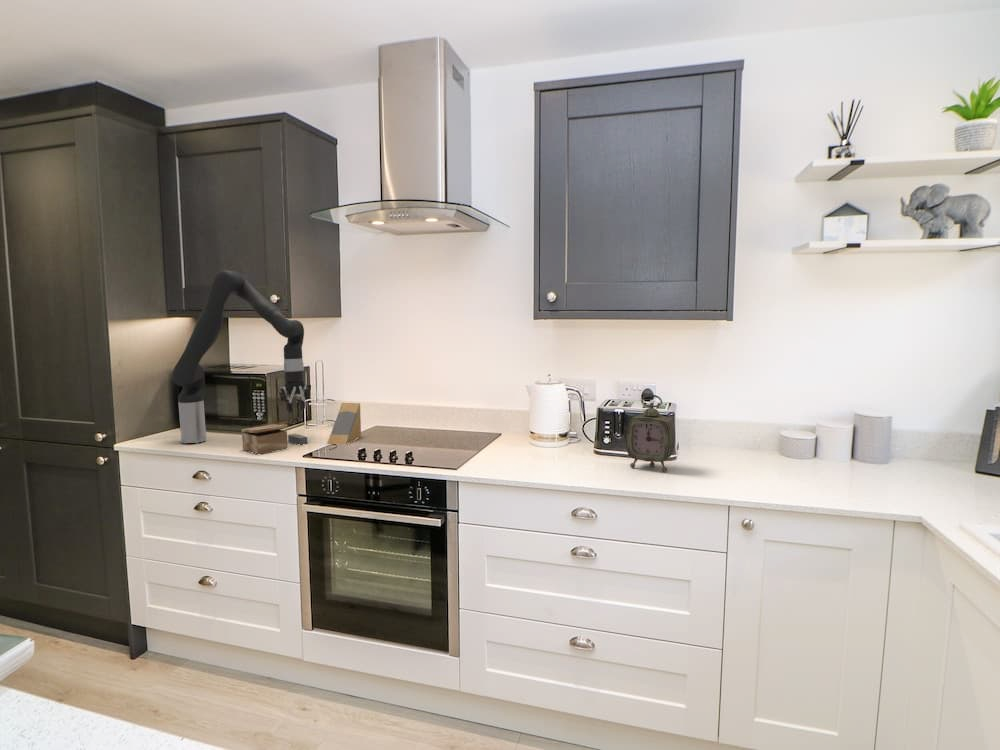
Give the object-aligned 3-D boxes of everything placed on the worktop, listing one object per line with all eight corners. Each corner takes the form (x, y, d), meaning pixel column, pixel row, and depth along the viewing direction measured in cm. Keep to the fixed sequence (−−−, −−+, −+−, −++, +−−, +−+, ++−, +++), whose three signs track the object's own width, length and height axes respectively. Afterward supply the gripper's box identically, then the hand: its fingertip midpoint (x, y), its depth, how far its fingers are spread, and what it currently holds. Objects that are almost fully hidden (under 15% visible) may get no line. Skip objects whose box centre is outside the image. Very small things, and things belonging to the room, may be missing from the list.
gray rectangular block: (288, 442, 237) (287, 434, 237) (295, 441, 240) (294, 433, 239) (300, 446, 231) (300, 438, 230) (307, 444, 233) (307, 436, 233)
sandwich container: (325, 445, 231) (323, 408, 229) (343, 437, 246) (341, 402, 244) (345, 446, 229) (343, 409, 228) (361, 437, 244) (360, 403, 243)
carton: (243, 450, 224) (242, 432, 223) (272, 444, 233) (270, 427, 232) (258, 454, 216) (257, 436, 215) (287, 448, 225) (286, 431, 224)
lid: (241, 432, 223) (241, 429, 223) (271, 426, 232) (271, 424, 232) (257, 432, 215) (256, 430, 215) (287, 427, 224) (287, 424, 224)
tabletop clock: (625, 468, 192) (626, 394, 189) (633, 462, 200) (634, 391, 197) (668, 474, 184) (670, 397, 182) (675, 467, 192) (677, 394, 189)
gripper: (304, 367, 240) (306, 407, 242) (272, 370, 229) (274, 412, 231) (314, 368, 235) (316, 409, 237) (282, 371, 224) (284, 414, 226)
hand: (296, 410), depth 234 cm, fingers open, 4 cm apart
